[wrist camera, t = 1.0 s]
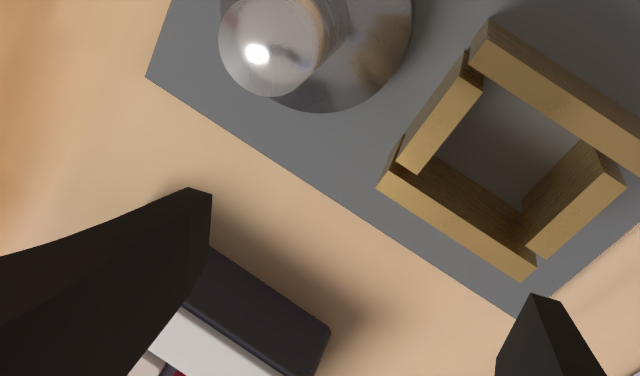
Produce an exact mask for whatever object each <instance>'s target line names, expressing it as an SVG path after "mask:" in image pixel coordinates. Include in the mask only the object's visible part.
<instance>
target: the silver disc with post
mask: <svg viewBox="0 0 640 376" xmlns="http://www.w3.org/2000/svg"><path fill="white" fill-rule="evenodd" d="M220 14H221V24H220V28H219V34H218V46H219V52H220V56H221V59H222V61H223V64H224V66H225V68H226V70H227V71H228V73H229V74H230V76H231V77H232V78H233V79H234V80H235V81H236V82H237V83H238V84H239V85H240V86H242V87H243V88H244V89H246V90H248V91H249V92H251V93H254V94H256V95H260V96H265V97H269V98H271V99H272V100H274V101H276V102H278V103H279V104H281V105H284V106H286V107H288V108H291V109H294V110H298V111H301V112H308V113H321V114H325V113H335V112H339V111H343V110H347V109H350V108H352V107H355V106H357V105H359V104H361V103H363V102H365V101H366V100H368V99H369V98H371V97H372V96H373V95H375V94H376V93H377V92H378V91H379V90H380V89H381V88H382V87H383V86H384V85H385V84H386V83H387V82H388V81H389V79H390V78H391V77H392V75H393V74H394V73H395V71H396V69H397V68H398V66H399V64H400V62H401V61H402V59H403V57H404V55H405V53H406V51H407V48H408V46H409V43H410V40H411V36H412V32H413V26H414V19H415V1H414V0H220Z"/></svg>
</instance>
